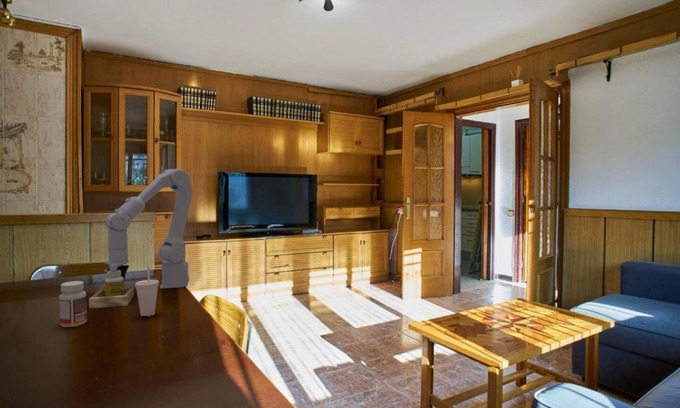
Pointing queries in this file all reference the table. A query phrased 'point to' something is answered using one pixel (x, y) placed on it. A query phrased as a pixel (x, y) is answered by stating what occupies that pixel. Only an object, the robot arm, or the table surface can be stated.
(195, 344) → the table surface
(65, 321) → the pill bottle
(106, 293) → the supplement bottle
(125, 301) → the beech corral
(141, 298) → the smoothie
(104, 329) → the table surface
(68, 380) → the table surface
